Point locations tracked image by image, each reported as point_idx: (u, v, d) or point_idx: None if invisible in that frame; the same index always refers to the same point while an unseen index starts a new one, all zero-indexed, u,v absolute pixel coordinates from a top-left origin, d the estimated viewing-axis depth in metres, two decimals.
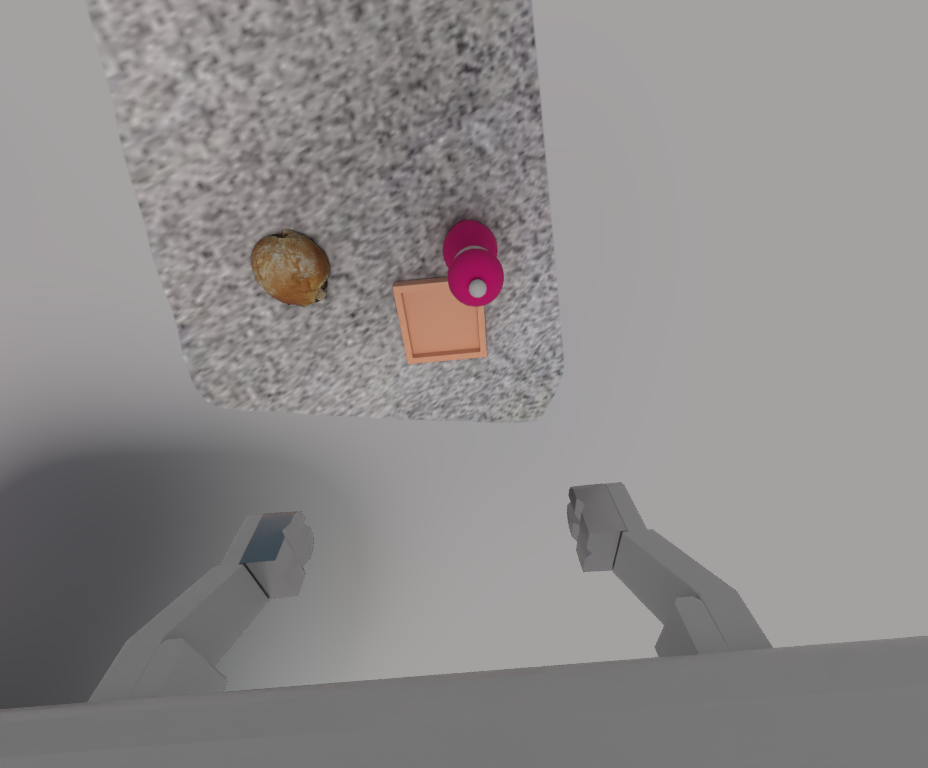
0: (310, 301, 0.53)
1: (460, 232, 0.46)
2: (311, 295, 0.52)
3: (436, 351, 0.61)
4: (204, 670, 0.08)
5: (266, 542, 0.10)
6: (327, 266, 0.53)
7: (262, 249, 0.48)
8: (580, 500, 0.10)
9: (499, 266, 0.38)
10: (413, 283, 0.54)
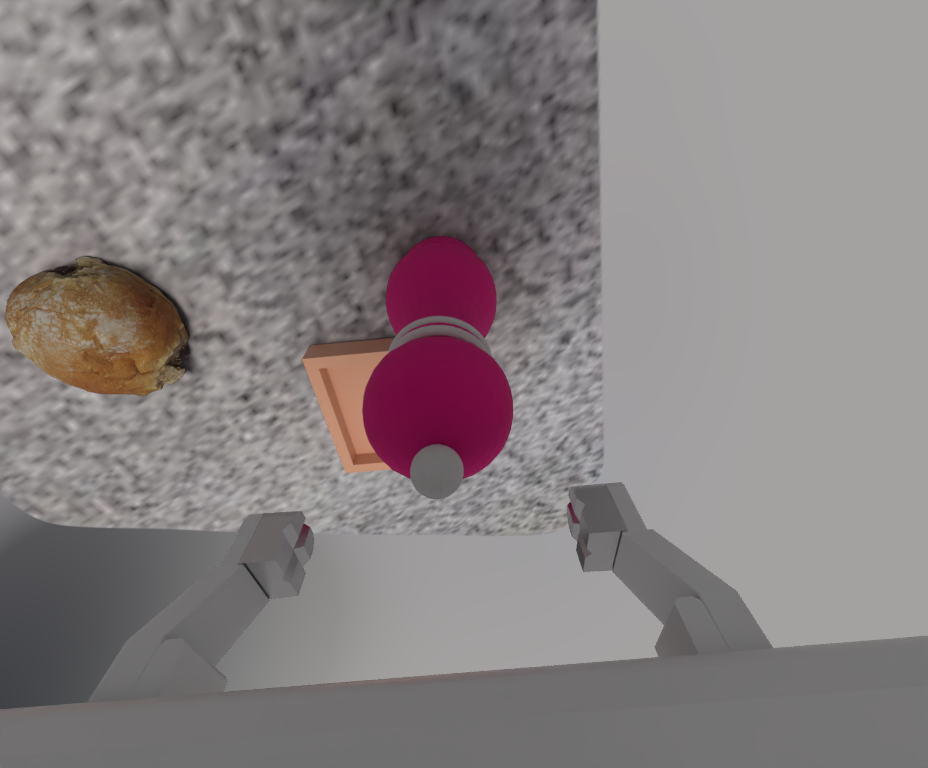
0: (148, 389, 0.28)
1: (415, 270, 0.21)
2: (145, 380, 0.28)
3: None
4: (204, 670, 0.08)
5: (266, 542, 0.10)
6: (177, 325, 0.28)
7: (15, 303, 0.23)
8: (580, 500, 0.10)
9: (502, 392, 0.13)
10: (341, 351, 0.29)
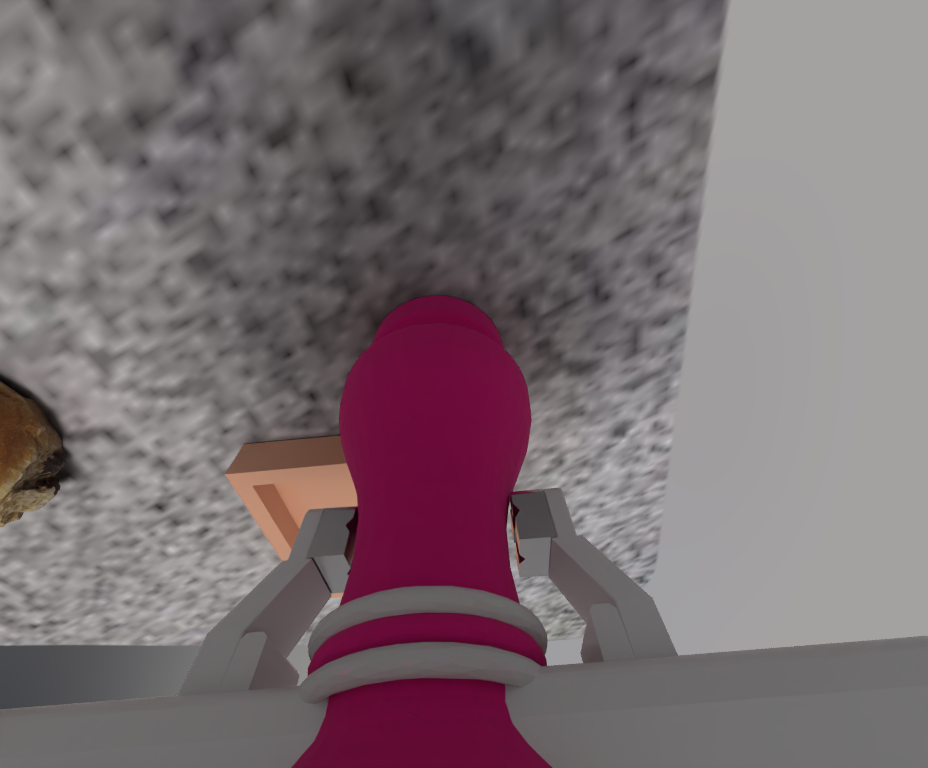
0: None
1: (385, 392, 0.11)
2: None
3: None
4: (282, 664, 0.08)
5: (331, 536, 0.10)
6: (29, 432, 0.18)
7: None
8: (516, 505, 0.10)
9: None
10: (286, 461, 0.19)
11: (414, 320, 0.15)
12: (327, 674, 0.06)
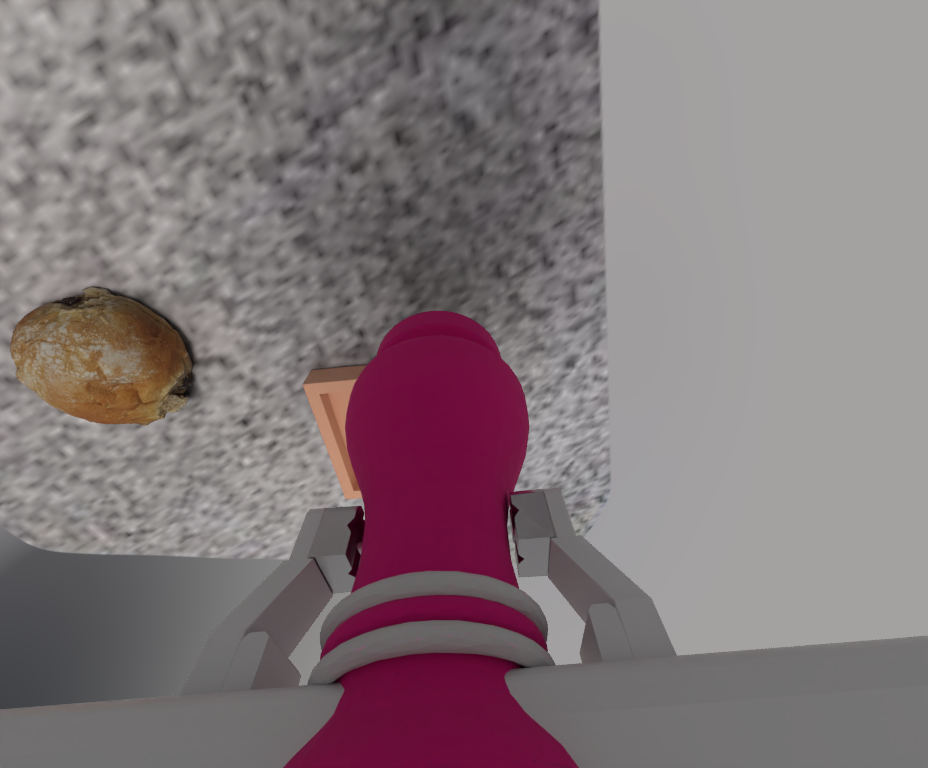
0: (150, 419, 0.28)
1: (390, 398, 0.12)
2: (148, 410, 0.27)
3: None
4: (283, 664, 0.08)
5: (333, 536, 0.10)
6: (181, 354, 0.28)
7: (21, 335, 0.23)
8: (515, 506, 0.10)
9: None
10: (342, 377, 0.29)
11: (417, 333, 0.16)
12: (342, 652, 0.06)
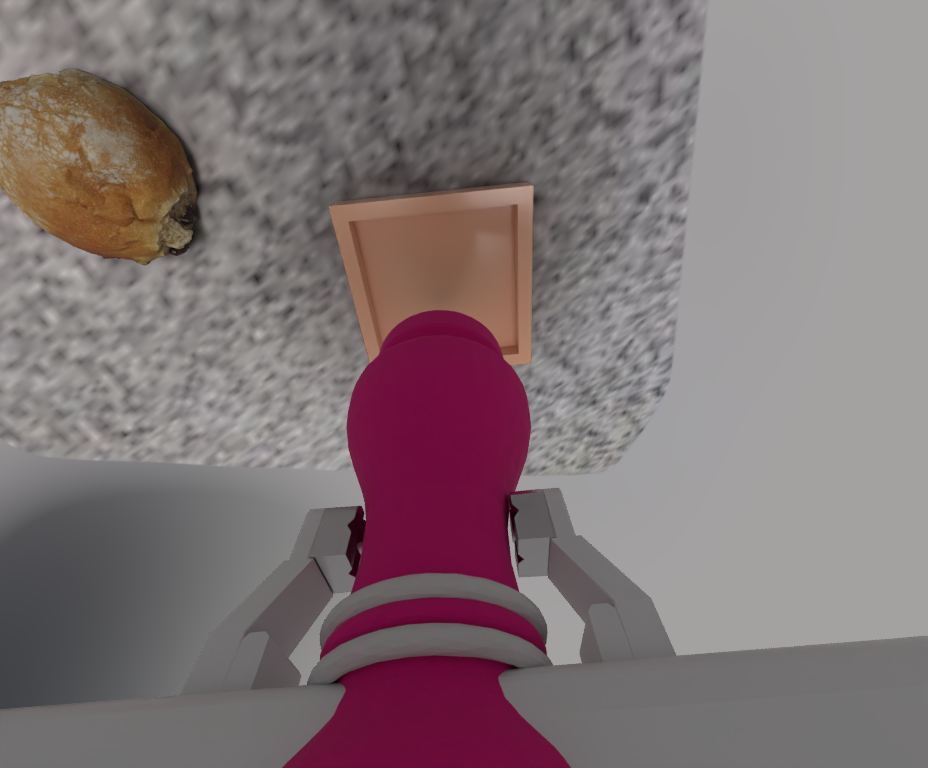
0: (148, 249, 0.23)
1: (392, 398, 0.12)
2: (145, 232, 0.22)
3: None
4: (284, 664, 0.08)
5: (333, 536, 0.10)
6: (184, 167, 0.23)
7: None
8: (515, 506, 0.10)
9: None
10: (376, 200, 0.24)
11: (419, 333, 0.16)
12: (341, 653, 0.06)
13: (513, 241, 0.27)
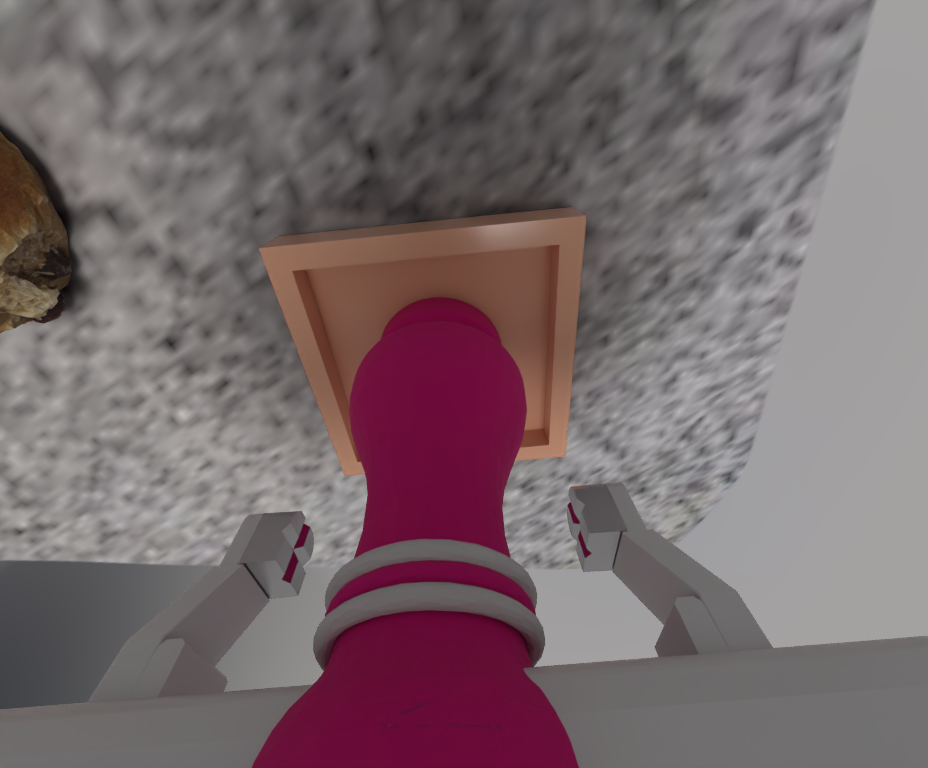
0: None
1: (390, 382, 0.12)
2: None
3: None
4: (204, 670, 0.08)
5: (266, 542, 0.10)
6: (28, 194, 0.14)
7: None
8: (580, 500, 0.10)
9: None
10: (335, 237, 0.15)
11: (417, 320, 0.16)
12: (342, 610, 0.07)
13: (547, 294, 0.18)
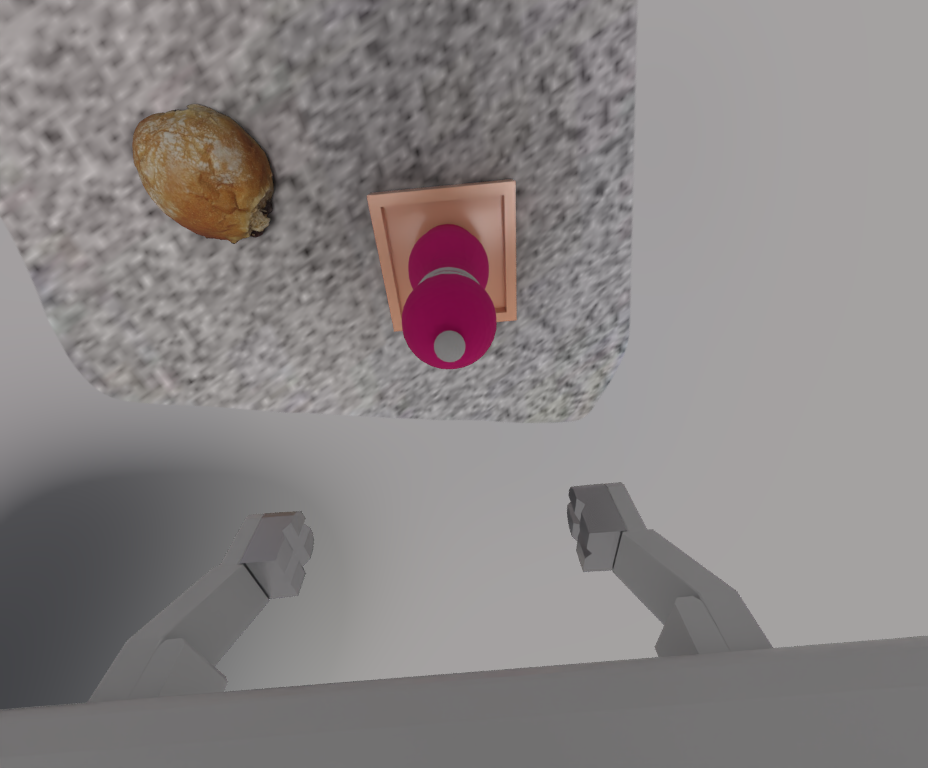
0: (241, 231, 0.32)
1: (430, 244, 0.30)
2: (241, 218, 0.31)
3: None
4: (204, 670, 0.08)
5: (266, 542, 0.10)
6: (268, 172, 0.32)
7: (145, 128, 0.28)
8: (580, 500, 0.10)
9: (488, 304, 0.22)
10: (401, 191, 0.33)
11: None
12: None
13: (502, 223, 0.35)
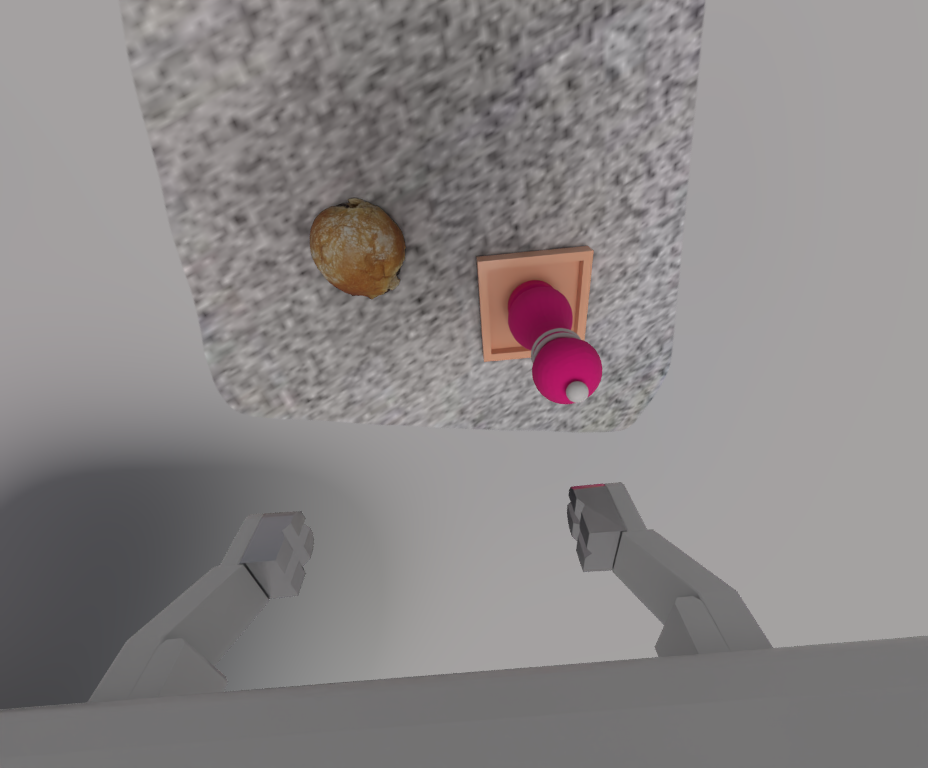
0: (382, 291, 0.42)
1: (533, 303, 0.39)
2: (384, 283, 0.41)
3: (519, 346, 0.49)
4: (204, 670, 0.08)
5: (266, 542, 0.10)
6: (404, 246, 0.41)
7: (328, 223, 0.37)
8: (580, 500, 0.10)
9: (599, 360, 0.31)
10: (503, 258, 0.42)
11: (530, 288, 0.43)
12: (545, 338, 0.34)
13: (577, 279, 0.45)
